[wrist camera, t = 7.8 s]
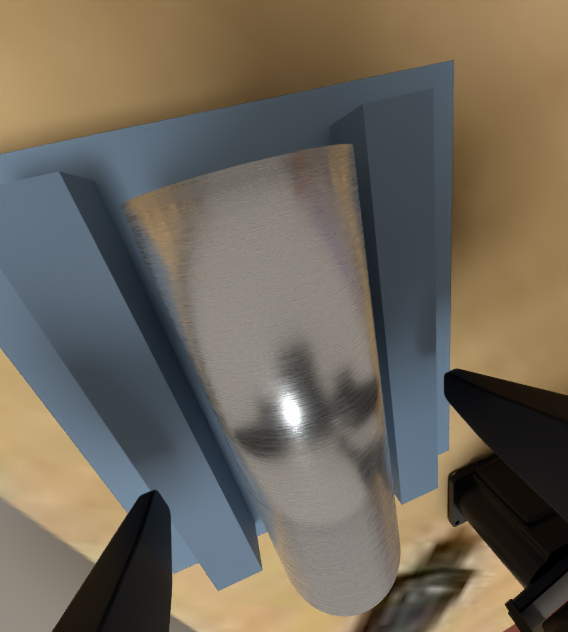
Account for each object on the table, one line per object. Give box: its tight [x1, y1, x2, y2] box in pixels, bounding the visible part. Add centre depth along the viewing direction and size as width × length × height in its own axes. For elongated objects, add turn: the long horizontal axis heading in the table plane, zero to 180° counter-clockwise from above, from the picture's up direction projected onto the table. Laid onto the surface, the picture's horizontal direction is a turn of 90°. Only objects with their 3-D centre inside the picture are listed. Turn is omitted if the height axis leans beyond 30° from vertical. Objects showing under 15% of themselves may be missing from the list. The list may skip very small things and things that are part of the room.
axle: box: [120, 144, 400, 616], centre depth 9 cm, size 14×5×5 cm, turn 14°
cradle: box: [0, 60, 454, 591], centre depth 12 cm, size 18×16×5 cm
